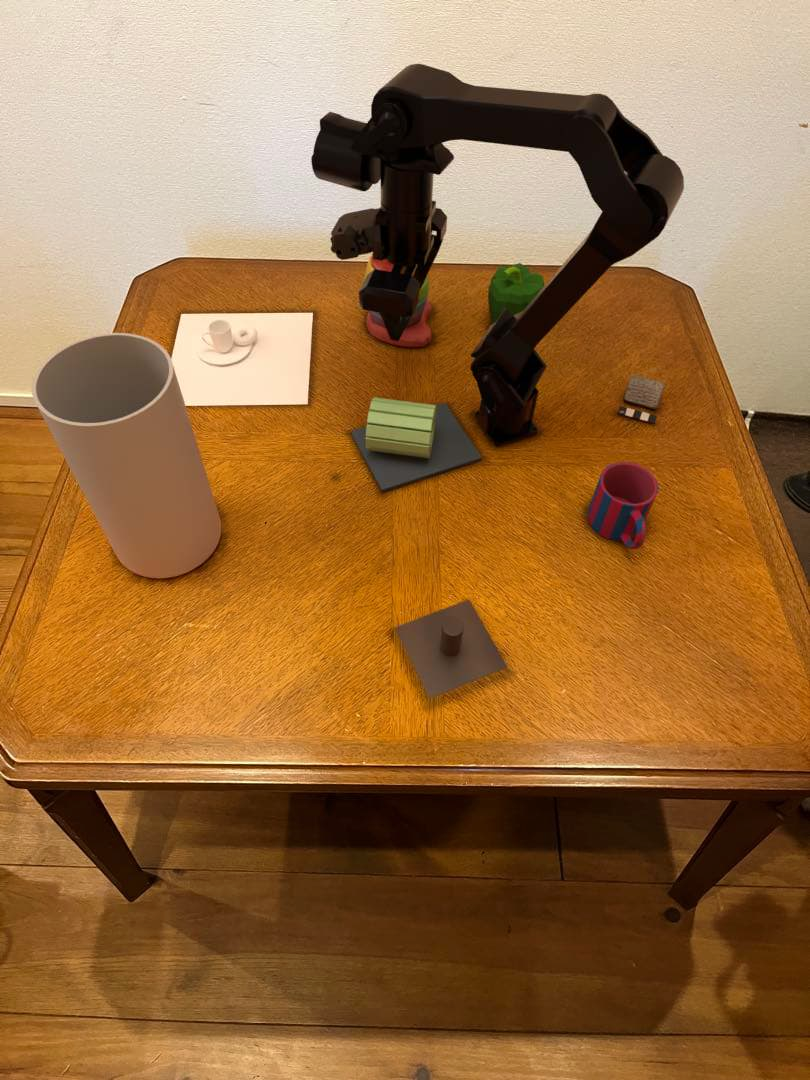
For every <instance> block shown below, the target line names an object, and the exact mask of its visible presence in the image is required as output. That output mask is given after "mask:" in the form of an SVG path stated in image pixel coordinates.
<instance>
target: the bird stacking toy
mask: <svg viewBox="0 0 810 1080" xmlns="http://www.w3.org/2000/svg"><path fill="white" fill-rule="evenodd" d="M393 266H394V265H393V264H391V263H389V262H388V261H387V259H384V260H383V261H380V260H374V259H373V253H372V254H371V255H370V257H369V259H368V261H367V265H366V268H365V273H364V278H363V279H364V280H365V278H366V276H367V275H368V274H369V273H370V272H372V271H373V270H374V269H377V270H383V271H389V272H391V271H392V269H393ZM428 275H429V274H427V277H426V279H425V281H424V283H423V285H422V287H421V289H420V292H419V297H418V299H419V301H418V304H417V306H416V309H415V311H414V313H413V315H412V317H411V319H410V320H409V322H408V324H407V326H406V328H405V330H404V332H403V334H402V336H401V338H400V340H399V341H394V340H391V339H390V337H389V335H388V332H387V330H386V327H385V324H384V322H383V319H382V317H381V315H380V313H379V312H373V311H368V312H367V316H366V321H365V322H366V324H365V325H366V328H367V331H368V332H369V333H370V334H371V335H372V336H373V337H374V338H376V339H378V340H380V341H383V342H384V343H387V344H391V345H394V346H398V347H405V348H406V347H407V348H422V347H426V346H427V345H428V344H430V343H431V342H432V338H433V334H432V330H431V328H430V326H429V325H428V324H427V321H426V320H427V319H428V318H429V317H430V316H431V314H432V311H433V308H432V304H431V302H430V301H429V300H428V297H429V291H430V289H429V287H430V283H429V276H428ZM364 280H363V281H364Z"/></svg>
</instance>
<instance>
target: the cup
mask: <svg viewBox="0 0 810 1080" xmlns="http://www.w3.org/2000/svg"><path fill="white" fill-rule="evenodd" d="M658 493H659V483H658V481H657V478H656V477H655V476H654V474H653V473H651V472H650V470H648V469H647V468H646V467H644V466H641V465H640V464H637V463H634V462H629V461H618V462H613V463H610V464H608V465H607V466H606V467H605V468H604V469H603V470H602V471H601V473H600V475H599V478H598V481H597V484H596V487H595V490H594V492H593V495H592V498H591V501H590V503H589V506H588V509H587V513H586V515H587V517H586V518H587V521H588V523H589V525H590V527H591V528H592V530H593V531H594V532H595V533H597V535H599V536H601V537H603V538H605V539H607V540H612V541H617V542H618V541H620V542H621V541H622V543H623V544H624V545H625V547H626V548H628V549H631V550H636V549H639V548H641V547H642V545H644V543H645V542H644V541H645V539H646V535H647V525H646V519H647V517H648V514H649V513H650V511H651V508H652V506H653V504H654V502H655V500H656V498H657V496H658ZM633 538H635V540H634V542H633V540H632V539H633Z"/></svg>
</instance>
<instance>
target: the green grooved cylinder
mask: <svg viewBox="0 0 810 1080" xmlns="http://www.w3.org/2000/svg"><path fill="white" fill-rule="evenodd" d="M436 405H437V404H429V403H421V402H414V401H406V400H400V399H399V400H398V399H391V398H383V397H375V396H373V397H372V398H371V401H370V405H369V408H368V413H367V419H366V423H367V424H366V426H365V427H366V448H367V450H371V451H378V452H386V453H393V454H400V455H408V456H415V457H422V458H429V457H430V454H431V449H432V443H433V438H434V430H435V423H436V409H437V408H436Z"/></svg>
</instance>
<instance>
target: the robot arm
mask: <svg viewBox="0 0 810 1080" xmlns="http://www.w3.org/2000/svg"><path fill="white" fill-rule="evenodd" d="M370 109H371V110H370V116H371V117H370V118H369V120H368V121H367V122H364V121H360V120H357V119H352V118H348V117H345V116H343V115H342V114H339V113H337V112H333V111H329V112H328V113H326V114H325V115H324V116H322V117H321V118H320V119H319V131H318V134H317V136H316V139H315V142H314V145H313V154H312V156H311V161H310V162H311V167H312V168H311V169H312V172H313V174H314V176H315V178H316V179H318V180H321V181H324V182H328V183H332V184H335V185H338V186H343V187H345V188H349V189H352V190H356V191H358V192H367V191H368V190H370V189H371V188H372V186H373V185H377V184H378V183H379V182H380V207H379V208H373V207H372V208H366V209H360V210H357V211H352V212H348V213H344V214H342V215H341V216H340V217H339V218H338V219H337V221H336V223H335V224H334V226H333V229H332V230H331V231H330V242H331V246H330V251H331V253H333V254H335V257H336V258H338V259H339V260H341V261H344V260H350V259H356V258H358V257H359V256H361V255H367V254H371V253H372V254H373V259H374V260H380V261H383V260H384V259H387V261H388V262H389V263H391V264H393V265H394V266H393V269H392V271H391V272H389V271H383V270H377V269H374V270H373V271H372V272H370V273H369V274H368V275H367V276H366V278H365V277H364V279H365V280H363V282H362V285H361V287H360V289H359V291H358V305H359V307H360V309H361V310H363V311H367V312H369V311H373V312H379V313H380V315H381V317H382V319H383V322H384V324H385V327H386V330H387V332H388V335H389V337H390V339H391V340H394V341H399V340H400V338H401V336H402V334H403V332H404V330H405V328H406V326H407V324H408V322H409V320H410V319H411V317H412V315H413V313H414V311H415V309H416V306H417V304H418V301H419V299H418V297H419V292H420V289H421V287H422V285H423V283H424V281H425V279H426V277H427V275H429V272H430V270H431V268H432V265H433V264H434V262H435V260H436V258H437V256H438V254H439V251H440V249H441V246H442V245H443V241H444V237H445V235H446V232H447V228H448V227H447V225H448V216H447V214H446V213H445V212H444V210H443V209H442V208H439V207H437V201H436V200H433V194H434V193H433V192H434V175H438V176H440V175H441V174H442V173H444V171H445V170H446V169H447V168H448V167H449V166H450V164H452V162H453V161H454V160H455V155H454V153H452V152H451V150H450V149H449V148H448V147H446V146H445V145H444V143H446V142H449V141H470V142H478V143H487V144H497V145H505V146H514V147H523V148H530V149H537V150H538V149H540V150H548V151H556V152H565V153H569V155H570V156H571V158H572V159H573V160H574V161H575V163H576V164H577V165H578V167H579V170H580V172H581V175H582V177H583V179H584V182H585V184H586V187H587V189H588V191H589V194H590V196H591V198H592V200H593V202H594V203H595V204H596V206H597V207H598V208H599V209H600V211H601V213H600V215H599V216H598V218H597V220H596V222H595V223H594V225H593V227H592V228H591V231H590V232H589V233H588V234H587V235H586V236H585V237H584V239H583V240H582V241H581V242H580V243H579V245H577V246H576V248H575V249H574V250H573V252H572V253H570V255H569V256H568V257H567V259H566V260H565V261H564V262H563V263H562V264H561V265H560V266H559V268H558V269H557V270H556V272H555V273H554V274H553V275H552V276H551V277H550V278H549V280H548V281H547V282H546V283H544V287H543V288H542V289H541V290H540V291H539V293H538V294H537V295H536V296H535V297H534V298H533V300H532V301H531V302H530V303H529V304H528V305H527V307H526V308H525V309H524V310H523V311H522V312H520V313H518V314H515V315H513V314H512V313H511V312H510V311H509V310H508V309H507V308H505V309H504V311H503V312H502V314H501V315H500V317H499V318H498V320H497V321H496V323H491V324H490V325H489V326H488V328H487V330H486V331H485V333H484V334H483V336H482V337H481V339H480V340H479V342H478V343H477V344H476V346H475V348H474V349H473V350H472V352H471V353H470V357H471V358H473V360H472V362H471V364H470V368H469V370H470V372H471V373H472V377H473V378H474V380H475V382H476V384H477V388H478V391H479V395H480V398H481V400H480V401H479V402H480V403H479V410H477V411H475V412H474V418H475V419H476V421H477V424H478V425H479V427H480V428H481V429H482V431H483V433H484V434H485V435H486V436H488V438H489V439H490V441H491V442H492V443H493V445H494V446H496V447H499V446H503V445H506V444H509V443H512V442H515V441H519V440H521V439H525V438H528V437H531V436H534V435H537V434H538V431H539V429H538V427H537V426H536V424H535V422H533V420H534V415H535V411H536V407H537V406H536V405H537V401H538V398H539V397H538V396H539V393H540V391H539V389H538V388H537V385H538V383H539V381H540V379H542V376H543V375H544V373H545V371H546V370H547V364H546V363H545V361H544V360H543V359H542V357H541V356H540V355H539V353H538V352H537V351H536V347H537V345H538V344H540V342H541V341H542V340H543V339H544V338H545V337H546V336H547V335H548V334H549V333H550V332H551V331H552V330H553V328H554V327H555V326H556V325H557V324H558V323H559V322H560V321H561V320H562V319H563V318H564V317H565V316H566V315H567V314H568V313H569V312H570V310H571V309H572V308H573V307H574V306H575V305H576V304H577V303H578V302H579V301H580V300H581V299H582V297H583V296H584V295H585V294H587V292H588V291H589V290H590V289H591V288H592V287H593V286H594V285H595V283H597V281H599V279H600V278H601V277H603V276H604V274H605V273H606V272H607V271H608V270H609V269H610V268H611V267H612V266H614V265H615V264H617V263H619V262H621V261H624V260H626V259H629V258H631V257H632V256H634V255H635V254H637V253H638V252H639V251H641V250H642V249H643V248H645V247H646V246H648V245H649V244H650V243H652V242H653V241H654V240H656V239H657V238H658V237H660V235H661V234H662V232H663V230H664V229H665V228H666V226H667V224H668V222H669V220H670V218H671V217H672V214H673V213H674V211H675V209H676V207H677V204H678V202H679V201H680V199H681V197H682V195H683V192H684V189H685V186H684V185H685V177H684V174H683V172H682V169H681V167H680V166H679V165H678V164H677V162H676V161H675V160H673V159H671V158H670V157H669V156H667V155H664V154H663V153H662V151H660V149H659V148H658V146H657V145H656V143H655V142H654V141H653V139H652V138H651V137H650V135H649V134H647V132H645V131H644V130H642V129H641V128H640V127H638V126H637V125H636V124H634V123H633V122H632V121H631V120H629V118H627V117H625V116H624V115H623V113H622V112H621V110H620V109H619V107H618V106H617V105H616V104H615V102H614V101H613V100H612V99H611V98H610V97H609V96H608V95H606V94H603V93H590V94H586V95H583V94H572V93H571V94H570V93H562V92H561V93H560V92H550V91H549V92H548V91H539V90H538V91H537V90H526V89H515V88H504V87H493V86H482V85H474V84H470V83H467V82H463V81H462V80H461V79H459V78H458V77H457V76H455V75H454V74H453V73H451V72H449V71H448V70H447V71H446V70H443V69H440V68H436V67H433V66H430V65H427V64H422V63H413V64H409V65H406V66H405V67H404V68H403V69H402V70H401V71H399V72H398V73H397V74H395V76H393V77H392V78H391V79H390V80H389V81H388V82H386V83H385V84H384V85H383V86H382V87H380V88H379V89H378V91H377V92H375V94H374V96H373V98H372V102H371V105H370ZM433 232H436V234H433Z"/></svg>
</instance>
